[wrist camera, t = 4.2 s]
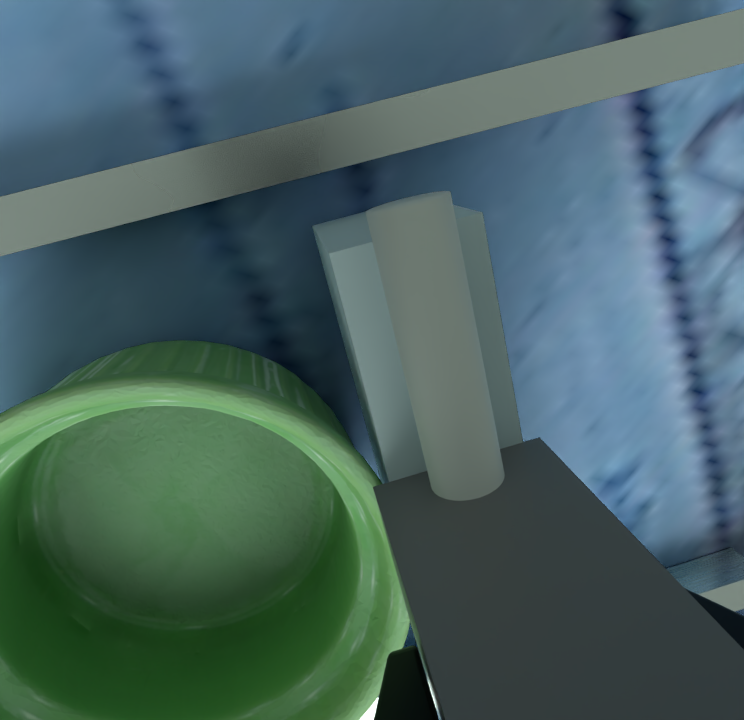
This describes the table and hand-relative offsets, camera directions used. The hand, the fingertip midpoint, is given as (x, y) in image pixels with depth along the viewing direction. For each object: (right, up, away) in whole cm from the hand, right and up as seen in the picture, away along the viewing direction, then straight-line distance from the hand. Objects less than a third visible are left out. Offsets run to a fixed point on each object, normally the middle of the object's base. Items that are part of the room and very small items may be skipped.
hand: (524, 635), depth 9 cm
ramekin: (-7, +1, +6) cm, 9 cm away
